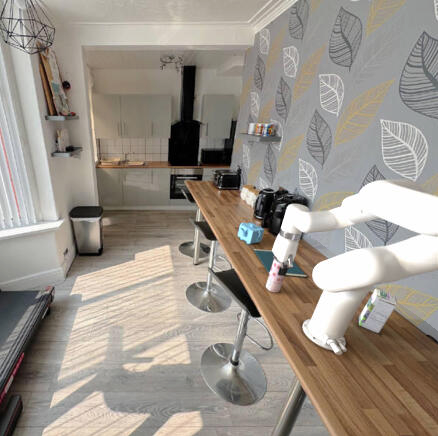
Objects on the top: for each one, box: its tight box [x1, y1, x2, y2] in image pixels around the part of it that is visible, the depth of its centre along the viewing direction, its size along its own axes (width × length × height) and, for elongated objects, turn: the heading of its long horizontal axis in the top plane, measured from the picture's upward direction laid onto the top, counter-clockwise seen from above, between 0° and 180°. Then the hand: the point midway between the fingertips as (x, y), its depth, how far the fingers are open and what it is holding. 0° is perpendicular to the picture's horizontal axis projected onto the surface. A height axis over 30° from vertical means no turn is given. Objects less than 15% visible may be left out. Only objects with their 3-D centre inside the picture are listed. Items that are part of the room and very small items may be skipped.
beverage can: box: [265, 258, 287, 293], centre depth 103 cm, size 6×6×15 cm
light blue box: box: [237, 222, 265, 245], centre depth 146 cm, size 16×18×11 cm
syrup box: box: [358, 288, 398, 334], centre depth 86 cm, size 6×6×14 cm
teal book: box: [253, 248, 308, 278], centre depth 127 cm, size 24×18×1 cm
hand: (278, 270), depth 102 cm, fingers closed on beverage can, 5 cm apart
